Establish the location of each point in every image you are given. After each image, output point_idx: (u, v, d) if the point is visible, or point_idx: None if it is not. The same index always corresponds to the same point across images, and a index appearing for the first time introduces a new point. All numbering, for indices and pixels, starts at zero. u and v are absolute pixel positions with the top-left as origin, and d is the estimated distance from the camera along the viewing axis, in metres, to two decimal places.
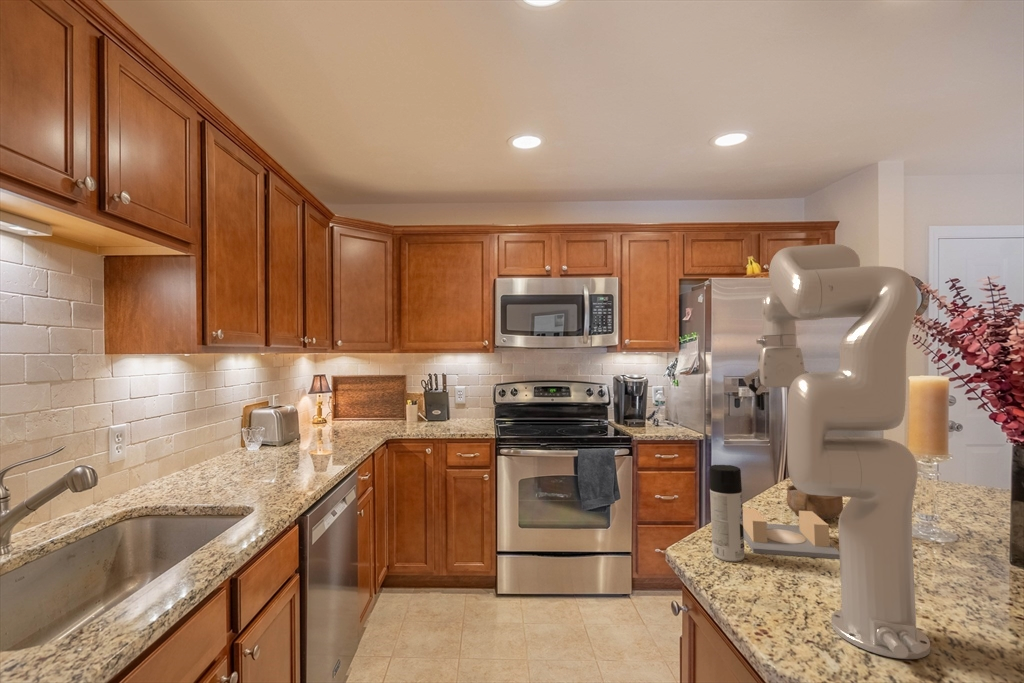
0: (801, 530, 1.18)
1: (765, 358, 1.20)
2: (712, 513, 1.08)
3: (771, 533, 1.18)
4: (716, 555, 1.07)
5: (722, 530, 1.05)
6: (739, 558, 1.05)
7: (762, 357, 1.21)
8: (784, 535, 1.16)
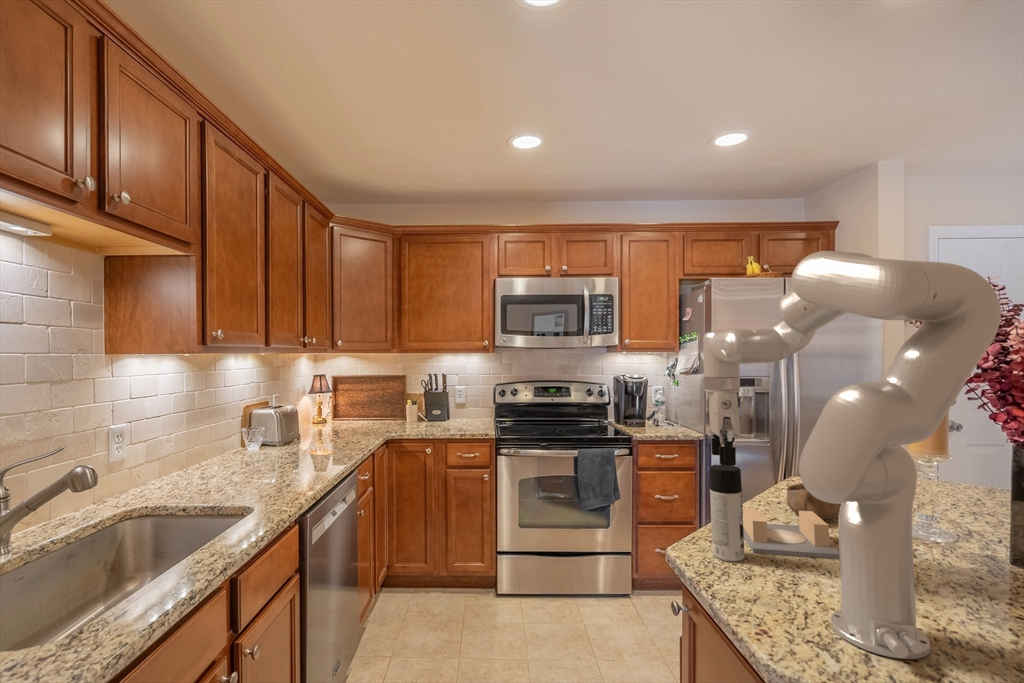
0: (801, 530, 1.18)
1: (737, 404, 1.05)
2: (712, 513, 1.08)
3: (771, 533, 1.18)
4: (716, 555, 1.07)
5: (722, 530, 1.05)
6: (739, 558, 1.05)
7: (736, 403, 1.04)
8: (784, 535, 1.16)
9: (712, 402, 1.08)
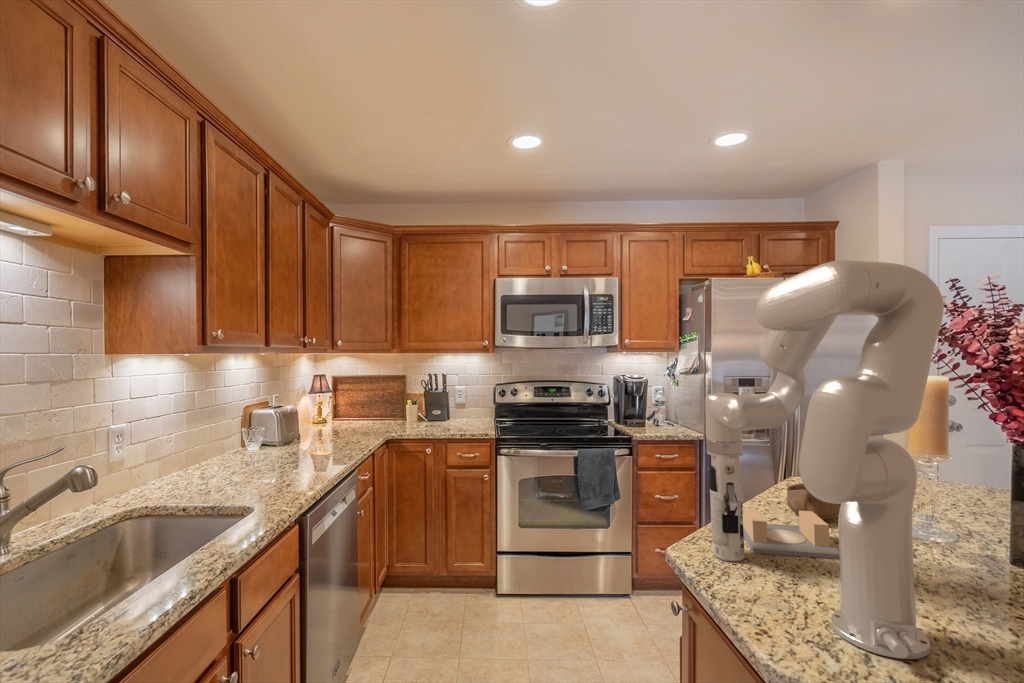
0: (801, 530, 1.18)
1: (740, 469, 1.04)
2: (712, 513, 1.08)
3: (771, 533, 1.18)
4: (716, 555, 1.07)
5: None
6: (739, 558, 1.05)
7: (739, 468, 1.03)
8: (784, 535, 1.16)
9: (715, 466, 1.07)
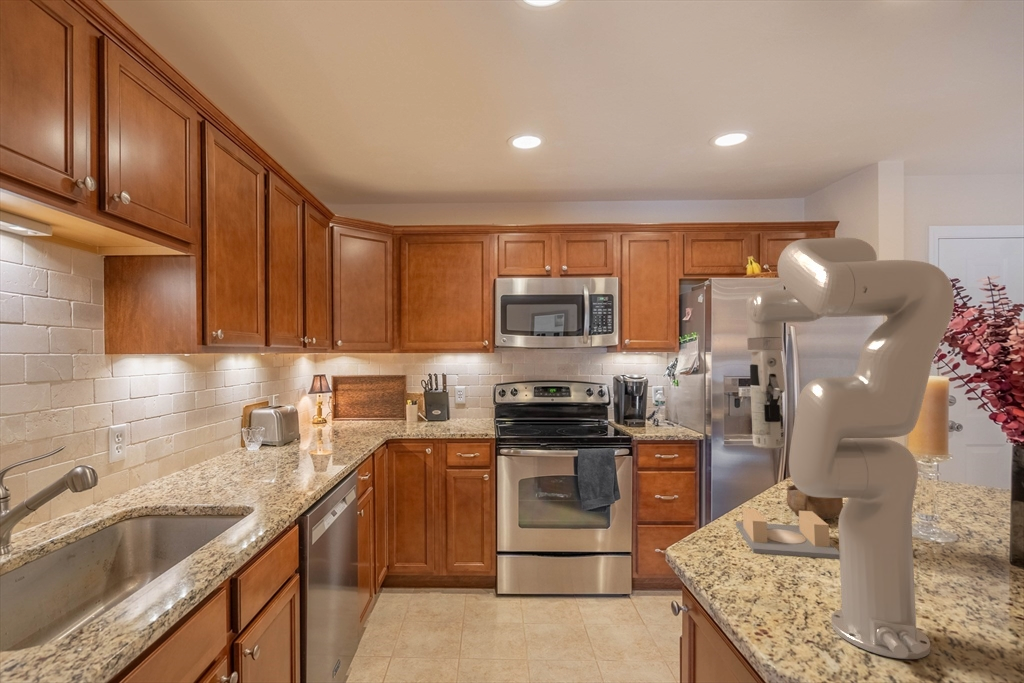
0: (801, 530, 1.18)
1: (782, 362, 1.11)
2: (753, 406, 1.15)
3: (771, 533, 1.18)
4: (757, 445, 1.14)
5: (763, 420, 1.13)
6: (780, 445, 1.12)
7: (780, 361, 1.11)
8: (784, 535, 1.16)
9: (757, 361, 1.14)
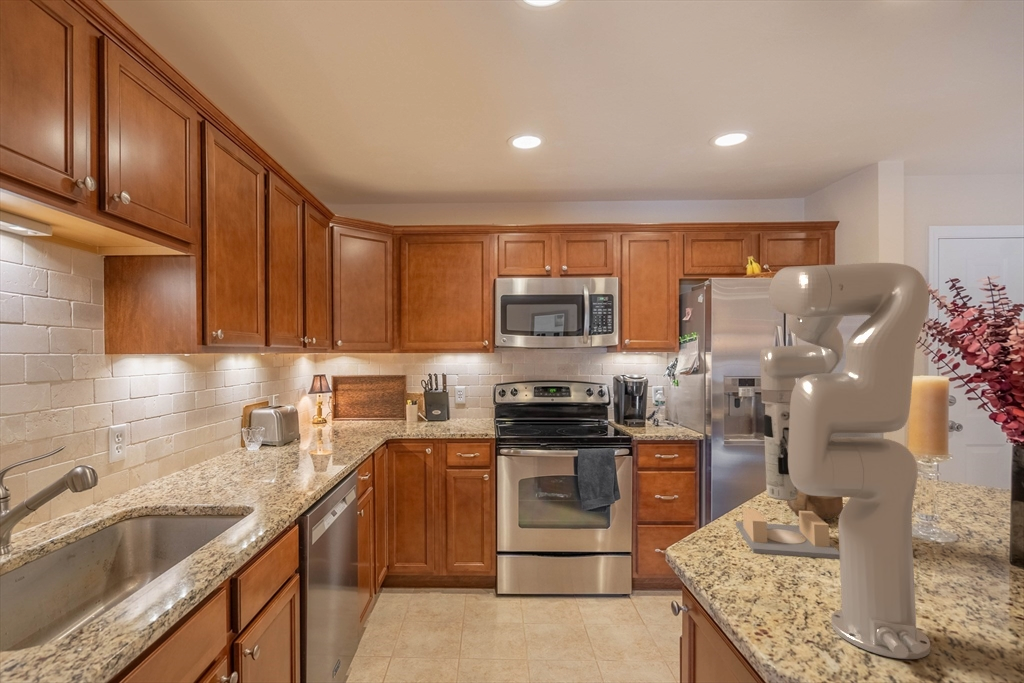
0: (801, 530, 1.18)
1: None
2: (767, 457, 1.17)
3: (771, 533, 1.18)
4: (771, 496, 1.15)
5: (777, 472, 1.14)
6: (794, 497, 1.13)
7: None
8: (784, 535, 1.16)
9: (770, 413, 1.15)
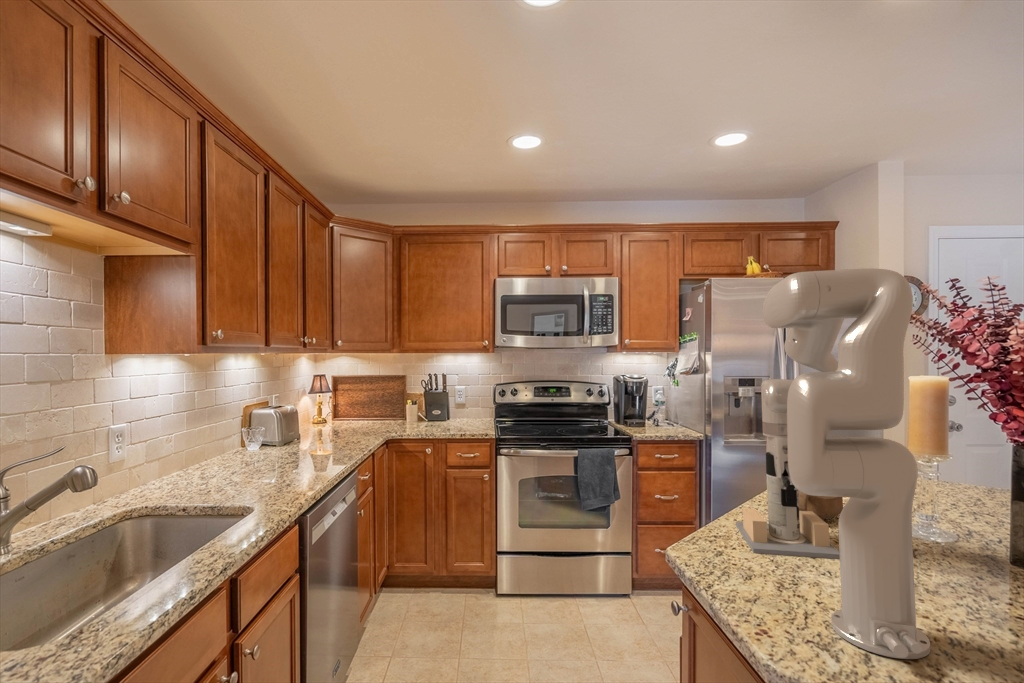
0: (801, 530, 1.18)
1: None
2: (769, 496, 1.16)
3: None
4: (773, 535, 1.15)
5: (779, 512, 1.13)
6: (796, 537, 1.13)
7: None
8: None
9: (772, 446, 1.15)
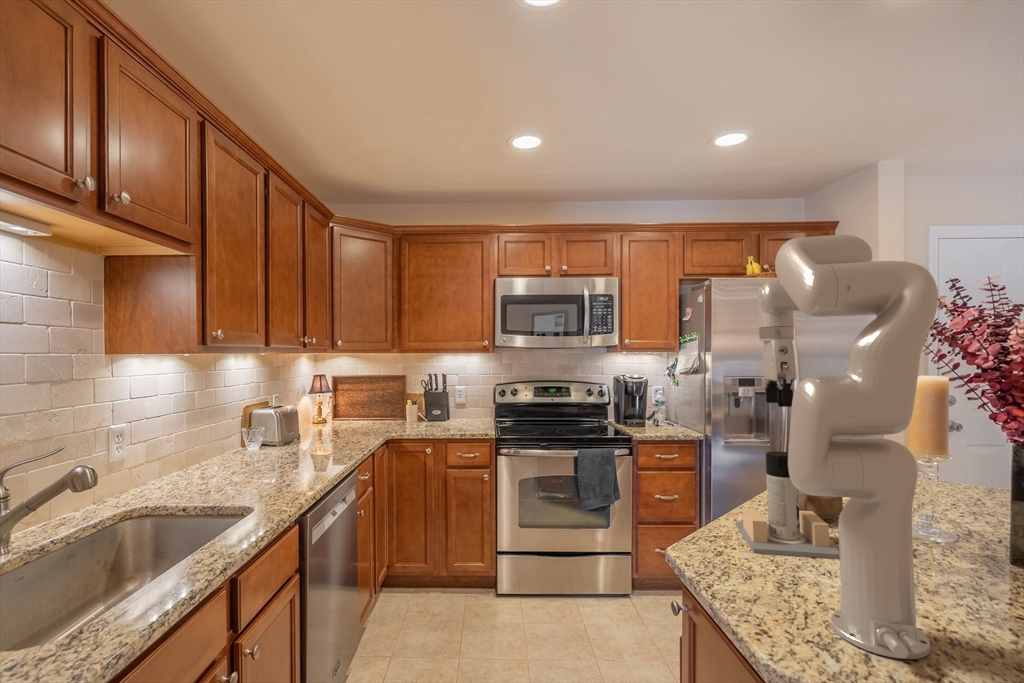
0: (801, 530, 1.18)
1: (793, 350, 1.13)
2: (769, 496, 1.16)
3: None
4: (773, 535, 1.15)
5: (779, 512, 1.13)
6: (796, 537, 1.13)
7: (792, 349, 1.12)
8: None
9: (768, 350, 1.16)
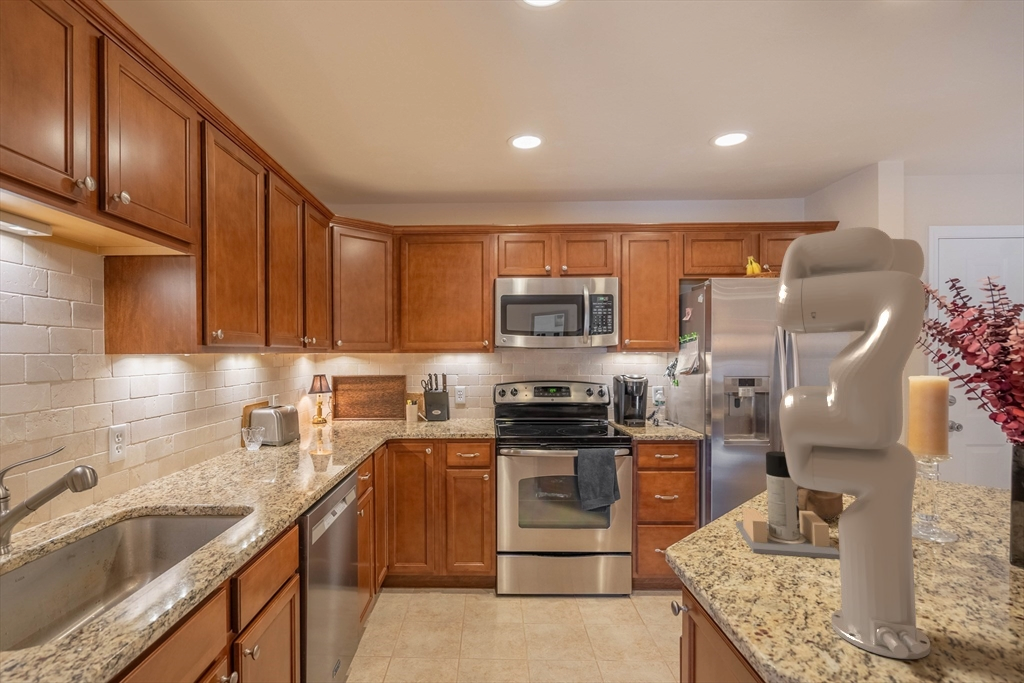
0: (801, 530, 1.18)
1: None
2: (769, 496, 1.16)
3: None
4: (773, 535, 1.15)
5: (779, 512, 1.13)
6: (796, 537, 1.13)
7: None
8: None
9: (861, 332, 0.99)
